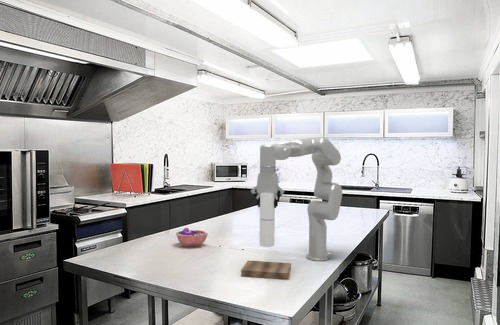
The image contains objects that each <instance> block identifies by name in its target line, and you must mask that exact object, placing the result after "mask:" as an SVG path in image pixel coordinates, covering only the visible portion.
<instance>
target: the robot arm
mask: <svg viewBox="0 0 500 325" xmlns="http://www.w3.org/2000/svg"><path fill="white" fill-rule="evenodd" d="M308 155H311V160H312V162H313V164H314V166H315V168H316V173H317V174H316V179H315V184H314V188H313V195H314V197H315V198H317V199H319V200H313V201H310V202H309V203H308V205H307V215H308V253H306V254H305V258H306V259H308V260H310V261H314V262H315V261H316V262H318V261H319V262H325V261H328V260H329V259H330V257H335V256H336V252H333V251H328V249H327V232H328V230H327V228H328V227H327V224H326V221H335V220H336V219H337V218H338V216H339V213H340V209H341V204H342V198H343V189H342V186H341V185H340V184H339V183H338V182H332V180H333V171H332V169H331V167H330V166H337V165H339V164H340V162H341V160H342V158H341V152H340V151H339V150H338V148H337V147H336V146H335V145H334V144H333V143H332V142H331V141H330V140H329V139H327V138H326V137H310V138H304V139H298V140H291V141H286V142H279V143H274V144H261V145H260V147H259V173H258V174H257V179H256V180H257V181H256V186H254V187H253V188H252V189H250V192H251V194H253V196H254V198H256V206H257V208H260V194H261V193H265V194H274V197H275V200H274V208H275V209H276V208H277V207H278V206H279V201H278V200H279V199H280V198H281V196H282V195H283V194H285V190H283V189H282V187H280V186H279V176H278V173H276V172H279V169H280V168H279V167H278V168H277V167H276V165H277V164H276V162H277V161H285V160H288V159H289V158H298V157H303V156H308ZM279 192H280V193H279ZM323 200H327V201H323Z"/></svg>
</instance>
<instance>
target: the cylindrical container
mask: <svg viewBox="0 0 500 325" xmlns="http://www.w3.org/2000/svg"><path fill="white" fill-rule="evenodd" d="M274 200H275V197H274V194H265V193H261V194H260V207H259V246H260V247H264V248H271V247H274V246H275V218H276V217H275V215H276V214H275V211H276V208H274Z"/></svg>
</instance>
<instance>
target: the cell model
mask: <svg viewBox="0 0 500 325" xmlns="http://www.w3.org/2000/svg"><path fill="white" fill-rule="evenodd" d="M175 235H176V238H177V241H178V242H179V243H180V244H181V245H183V246H184V247H199V246H201V245H202V244H203V243H205V241H206V239H207V238H208V235H209V234H208V232H206V231H204V230H201V229H200V230H198V229H194V230H192V229H191V230H190V229H189V228H188V227H185V228H183V229H182V230H180V231H177V232H175Z"/></svg>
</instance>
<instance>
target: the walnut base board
mask: <svg viewBox="0 0 500 325" xmlns="http://www.w3.org/2000/svg"><path fill="white" fill-rule="evenodd" d="M291 270H292V263H291V262H281V261H280V262H279V261H264V260H246V262H245V263H244V265H243V267H242V268H241V269H240V277H241V278H243V277H244V278H255V279H256V278H257V279H258V278H259V279H271V280H287V281H288V280H290V275H291Z"/></svg>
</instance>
